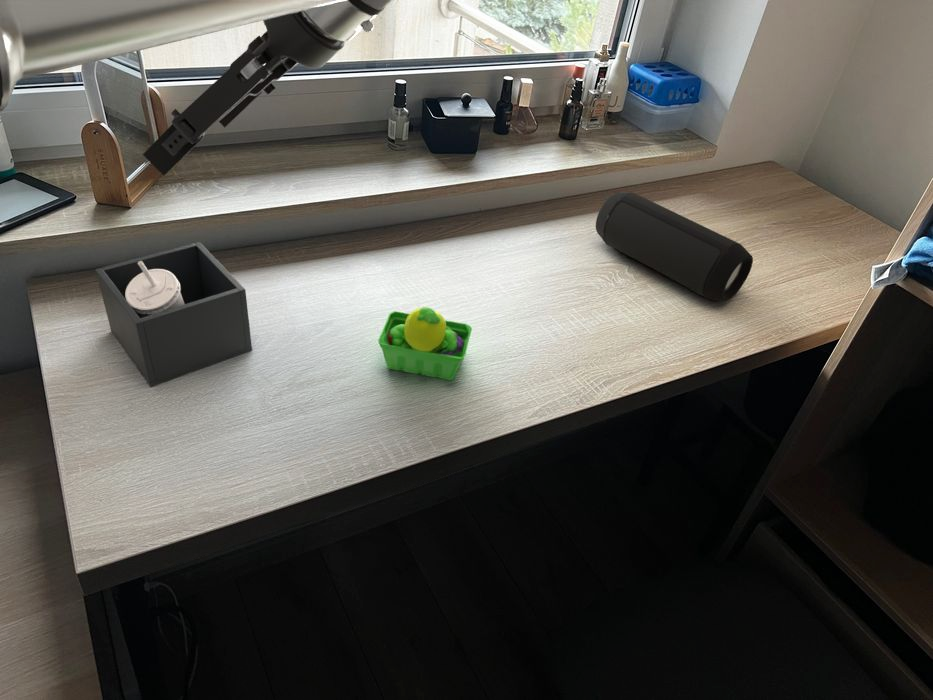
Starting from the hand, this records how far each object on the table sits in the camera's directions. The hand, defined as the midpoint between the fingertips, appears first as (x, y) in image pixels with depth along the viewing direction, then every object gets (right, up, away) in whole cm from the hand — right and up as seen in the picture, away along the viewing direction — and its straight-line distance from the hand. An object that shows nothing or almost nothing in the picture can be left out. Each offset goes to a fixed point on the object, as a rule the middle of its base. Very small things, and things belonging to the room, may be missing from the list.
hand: (188, 139), depth 78 cm
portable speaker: (+64, -9, +46) cm, 79 cm away
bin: (-8, -21, +19) cm, 30 cm away
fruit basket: (+24, -25, +20) cm, 40 cm away
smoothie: (-8, -21, +18) cm, 29 cm away
